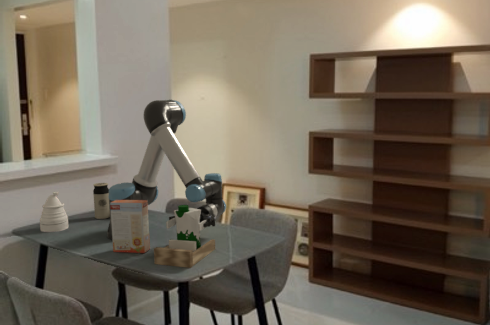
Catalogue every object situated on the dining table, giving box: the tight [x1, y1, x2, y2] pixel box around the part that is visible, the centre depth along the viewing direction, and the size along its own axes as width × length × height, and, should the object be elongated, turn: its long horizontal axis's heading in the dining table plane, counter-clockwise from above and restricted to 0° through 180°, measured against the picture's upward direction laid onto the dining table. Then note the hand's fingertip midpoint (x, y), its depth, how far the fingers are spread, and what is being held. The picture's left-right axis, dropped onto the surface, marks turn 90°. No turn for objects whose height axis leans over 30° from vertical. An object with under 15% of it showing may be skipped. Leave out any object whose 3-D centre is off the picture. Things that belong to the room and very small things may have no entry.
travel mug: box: [92, 182, 110, 220], centre depth 261 cm, size 8×8×18 cm
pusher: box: [168, 239, 196, 253], centre depth 191 cm, size 11×2×7 cm, turn 70°
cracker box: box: [110, 200, 151, 254], centre depth 202 cm, size 14×6×21 cm, turn 77°
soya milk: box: [173, 204, 202, 250], centre depth 195 cm, size 9×9×20 cm
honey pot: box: [39, 191, 69, 233], centre depth 241 cm, size 13×13×18 cm
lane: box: [153, 239, 216, 269], centre depth 194 cm, size 15×23×6 cm, turn 160°
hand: (182, 226), depth 191 cm, fingers open, 13 cm apart
